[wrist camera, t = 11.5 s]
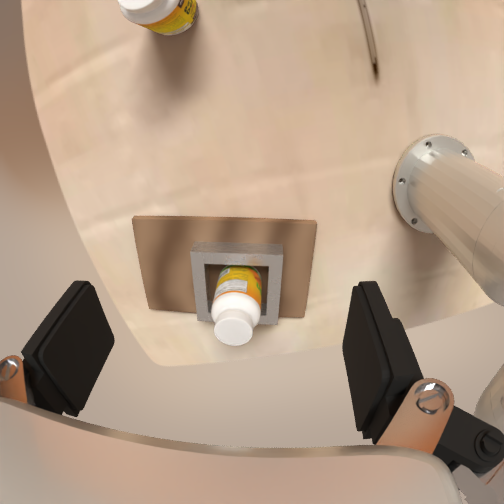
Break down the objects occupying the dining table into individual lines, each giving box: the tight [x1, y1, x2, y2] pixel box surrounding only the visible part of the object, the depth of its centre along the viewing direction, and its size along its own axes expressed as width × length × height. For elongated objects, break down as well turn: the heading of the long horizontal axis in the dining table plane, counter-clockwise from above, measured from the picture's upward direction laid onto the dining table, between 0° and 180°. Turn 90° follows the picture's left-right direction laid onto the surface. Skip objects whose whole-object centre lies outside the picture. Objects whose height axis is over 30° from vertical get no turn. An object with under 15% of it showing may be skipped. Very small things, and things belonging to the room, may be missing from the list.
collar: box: [190, 241, 283, 325], centre depth 38 cm, size 10×10×2 cm
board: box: [132, 216, 317, 317], centre depth 39 cm, size 22×14×1 cm, turn 89°
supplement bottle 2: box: [211, 265, 262, 346], centre depth 35 cm, size 5×5×10 cm
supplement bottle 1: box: [118, 0, 198, 35], centre depth 20 cm, size 6×6×10 cm
